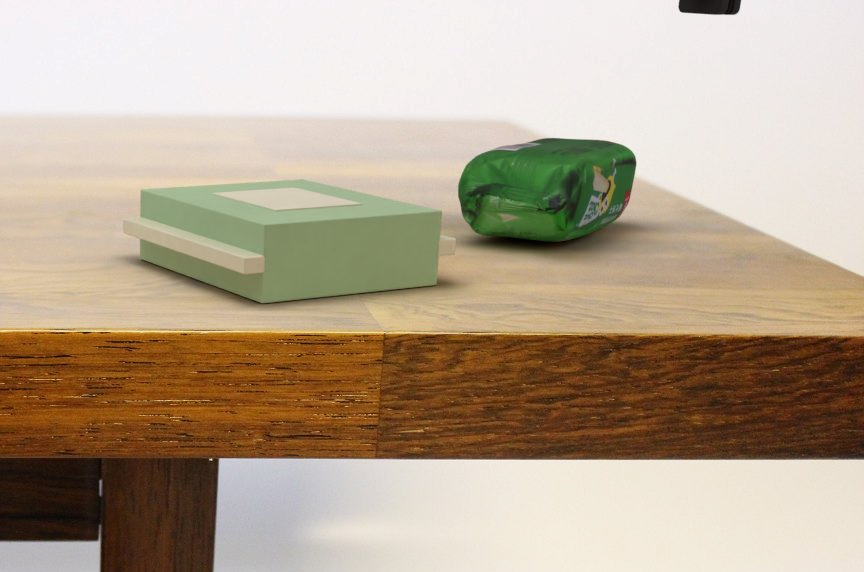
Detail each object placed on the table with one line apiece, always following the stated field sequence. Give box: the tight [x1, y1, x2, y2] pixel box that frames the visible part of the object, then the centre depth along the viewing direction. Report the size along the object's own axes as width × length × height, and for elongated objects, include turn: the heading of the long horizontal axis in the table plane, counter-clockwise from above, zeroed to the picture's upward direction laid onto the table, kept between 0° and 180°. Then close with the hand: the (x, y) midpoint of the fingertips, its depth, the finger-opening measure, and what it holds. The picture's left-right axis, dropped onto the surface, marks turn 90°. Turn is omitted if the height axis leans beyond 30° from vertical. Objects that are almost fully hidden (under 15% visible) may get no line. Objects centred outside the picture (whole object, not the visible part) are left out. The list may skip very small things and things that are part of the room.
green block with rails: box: [122, 178, 457, 304], centre depth 74 cm, size 12×12×4 cm
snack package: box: [457, 137, 637, 243], centre depth 85 cm, size 7×16×5 cm, turn 146°
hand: (708, 12), depth 87 cm, fingers closed
